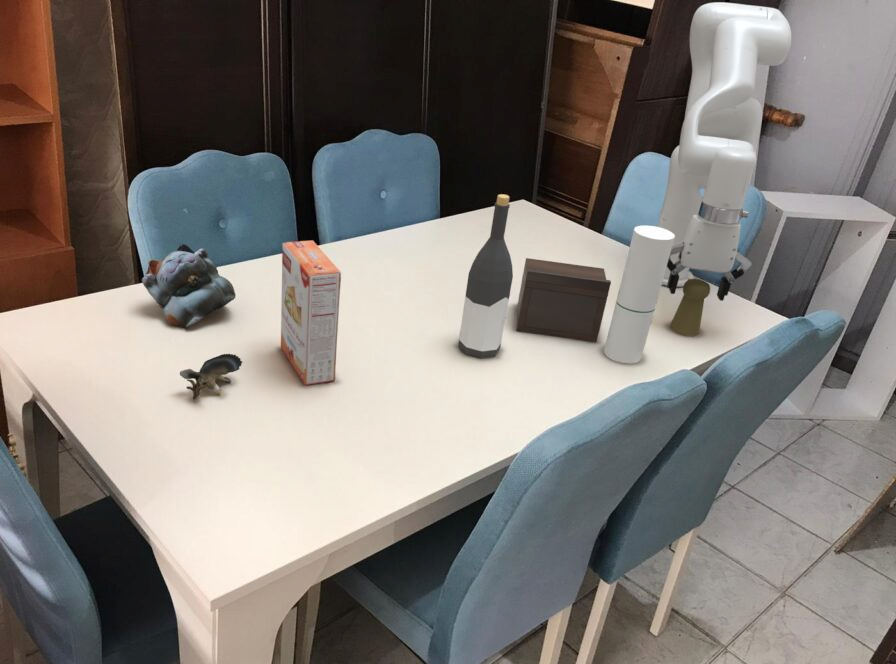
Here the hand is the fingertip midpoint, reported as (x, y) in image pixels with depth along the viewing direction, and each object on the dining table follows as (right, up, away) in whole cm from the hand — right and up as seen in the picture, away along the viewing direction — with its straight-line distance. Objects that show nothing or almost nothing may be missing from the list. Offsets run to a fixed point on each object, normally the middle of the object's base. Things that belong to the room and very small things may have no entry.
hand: (695, 294), depth 171 cm
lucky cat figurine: (-101, -5, -8) cm, 101 cm away
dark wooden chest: (-28, -6, +2) cm, 29 cm away
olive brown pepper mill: (-1, -7, +5) cm, 8 cm away
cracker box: (-77, -15, -21) cm, 82 cm away
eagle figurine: (-92, -19, -31) cm, 99 cm away
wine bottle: (-45, -12, -10) cm, 48 cm away
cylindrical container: (-17, -13, -8) cm, 23 cm away
